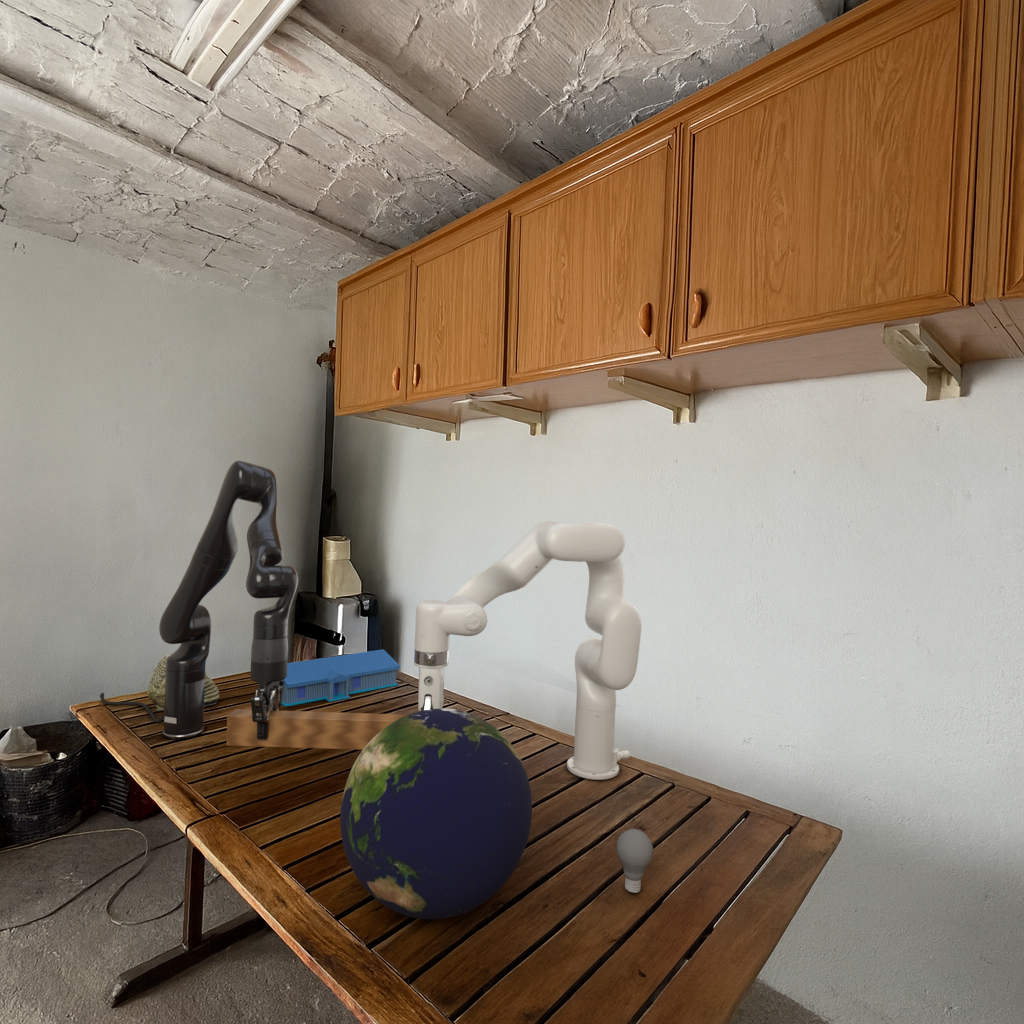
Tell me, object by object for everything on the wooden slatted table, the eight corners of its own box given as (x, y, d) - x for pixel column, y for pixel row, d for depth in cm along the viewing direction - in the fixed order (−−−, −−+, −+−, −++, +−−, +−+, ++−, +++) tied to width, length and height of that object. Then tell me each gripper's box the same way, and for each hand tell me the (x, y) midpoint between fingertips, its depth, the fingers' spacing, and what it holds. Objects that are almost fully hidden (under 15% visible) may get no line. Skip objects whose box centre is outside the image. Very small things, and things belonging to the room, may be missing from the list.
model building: (289, 709, 186) (291, 675, 185) (258, 688, 204) (259, 657, 204) (403, 687, 212) (405, 657, 212) (366, 670, 230) (368, 643, 230)
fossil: (144, 707, 182) (145, 655, 182) (212, 696, 194) (213, 647, 194) (151, 716, 175) (153, 662, 175) (221, 703, 188) (223, 653, 188)
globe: (293, 930, 92) (301, 726, 92) (403, 834, 120) (409, 676, 120) (479, 999, 81) (489, 767, 81) (552, 875, 109) (560, 702, 108)
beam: (226, 745, 136) (227, 715, 136) (234, 737, 140) (235, 708, 140) (463, 752, 137) (464, 723, 137) (464, 744, 142) (465, 716, 142)
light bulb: (610, 879, 108) (613, 822, 108) (644, 879, 109) (647, 822, 109) (619, 902, 102) (622, 840, 102) (655, 901, 103) (658, 840, 103)
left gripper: (275, 666, 131) (272, 747, 131) (297, 649, 145) (294, 723, 146) (238, 664, 131) (236, 746, 131) (264, 648, 145) (261, 722, 146)
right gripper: (445, 668, 131) (442, 755, 131) (451, 648, 148) (448, 726, 148) (409, 667, 130) (406, 754, 131) (418, 647, 147) (416, 725, 148)
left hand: (266, 734), depth 138 cm, fingers closed on beam, 4 cm apart
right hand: (428, 738), depth 139 cm, fingers closed on beam, 4 cm apart
